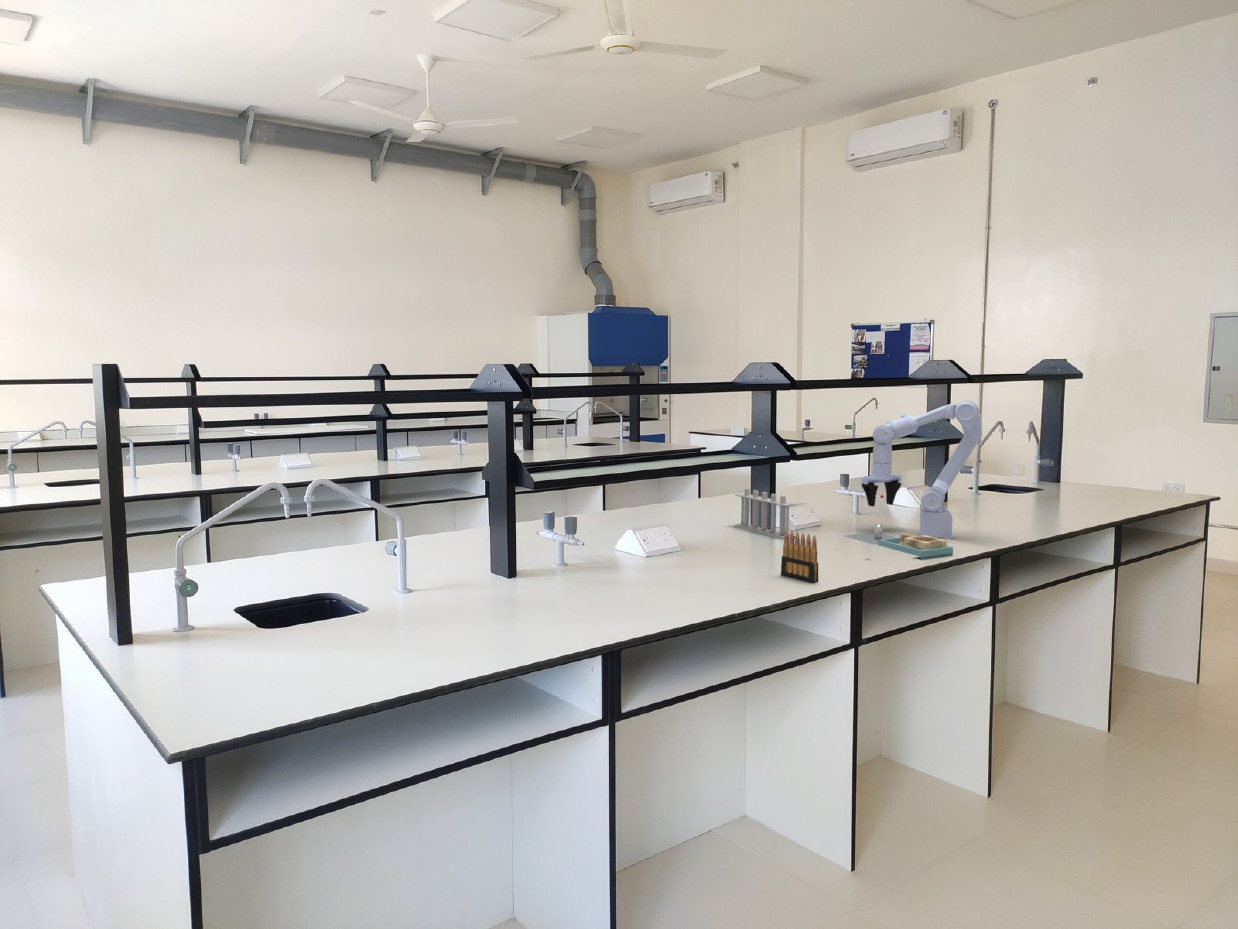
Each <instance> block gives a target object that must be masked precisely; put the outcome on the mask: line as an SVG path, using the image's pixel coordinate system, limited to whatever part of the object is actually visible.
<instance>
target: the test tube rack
mask: <svg viewBox="0 0 1238 929" xmlns="http://www.w3.org/2000/svg"><path fill="white" fill-rule="evenodd" d="M750 492H751V490H750V488H744V493H738V494H737V493H736V494H734V495H735V497H741V498H740V499H741V507H740V508H741V512H740V513H741V514H740V516H741V518H740V519H741V520H740V523H737V524H734V527H735V528H737V527H739V528H738V529H741V530H746V531H749V532H753V533H757V534H760V535H764V536H767V537H768V536H769V537H771V538H772V537H773V538H775V539H779V540H783V541H784V536H785V532H786V530H788V531H789V526H790V525H789V522H790V518H789V517H790V507H793V506H794V507H795V506H796V505H797V504H796V503H792V502H789V501H787V498H786V496H787V495H780V497H779V499H780V500H778V499H777V494H776V493H771V495H770V498H768V492H767V491H763V492H761V496H759V490H757V489H756V490H755V489H753V492H752V494H750ZM751 500H752V524H750V510H751V509H750V507H751V505H750V504H751V502H750V501H751ZM759 502H761V519H760V520H761V523H760V524H761V525H760V526H759ZM768 504H770V524H769V526H770V528H769V529H768V528H767V527H768ZM777 505H778V506H779V531H776V530H777ZM752 525H753V526H752ZM760 527H761V528H760ZM788 534H789V540H790V533H789V532H788ZM795 536H796V535H794V540H795Z"/></svg>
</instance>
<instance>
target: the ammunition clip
mask: <svg viewBox="0 0 1238 929" xmlns="http://www.w3.org/2000/svg"><path fill="white" fill-rule="evenodd" d="M788 533H789V529H788V530H786V529H785V536H784V540H783V544H782V545H783V546H782V555H781V567H780V576H783V577H787V578H791V579H795V580H799V581H802V582H808V583H811V584H816V583H817V584H818V583H819V562H818V545H817V542H818V541H817V536H816V535H815V534H814V535H813V536H812V540H811V535H810V534H809V533H808V534H807V536H806V537H805V533H804V532H802V533H801V535H800V534H799V531H796V533H795V534H794V531H793V530H791V532H790V533H789V534H788ZM789 535H790V539H789ZM794 536H795V539H794Z"/></svg>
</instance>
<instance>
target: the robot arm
mask: <svg viewBox="0 0 1238 929" xmlns="http://www.w3.org/2000/svg"><path fill="white" fill-rule="evenodd" d="M941 419H942V420H943V419H948V420H954V419H956V420H957V421H958V422H959V423H960V425H961V428H962V431H963V434H964V435H963V437H962V439H960V441H959V443H958V445H957V446H956V447H955V449H954V451H953V453H952V454H951V456H950V458H949V459H948V461H947V462H946V464H945V465H944V467H943V469H942V470H941V472H940V473H939V474H938V476H937V478H936V480H935V481H934V482H933V485H931V486H930V487H929V488H926V490H925V491H924V493H923V495H922V496H921V498H920V499H921V500H920V502H921V505H922V506H921V507H920V510H919V511H920V513H919V515H920V516H919V535H918V536H923V535H926V536H930V537H934V538H938V539H941V538H945V539H949V540H951V539H952V540H953V539H954V537H955V536H953V520H954V519H953V515H952V513H951V511H950V510H948V509H947V508H946V507H944V506H943V504H944V501H945V499H946V494H947V492H948V491H949V489H950V488H951V486H952V484H953V482H954V481H955V479H956V477H957V476H958V475H959V473H960V471H961V470H962V468H963V466H964V465H965V464H966V461H968V459H969V457H970V455H972V453H973V451H974V449H975V448H976V446H977V445H978V443H979V441H980V440H981V438H982V436H983V431H982V430H983V428H982V427H983V426H982V415H981V412H980V410H979V408H978V405H977V404H976V403H975V402H974V401H972V400H968V399H967V400H963V401H961V402H959V403H958V402H955V403H949V404H946V405H943V406H940V407H938V408H935V409H933V410H930V411H928V412H925V413H922V414H920V415H917V416H912V415H910V414H908V415H906V414H901V416H900V418H897V419H895V420H891V421H890V420H887V421H886V422H885V424H880V425H878V426H876V427H875V428H874V429H873V432H872V437H873V438H872V439H873V440H874V441H873V448H872V474H871V475H869V476H864V477H863V476H862V477H861V488H862V489H863V491H864V494H865V497H866V500H867V506H869V507H875V505H876V496H877V493H878V492H877V491H878V489H879V485H876V484H881V483H883V484H884V487H885V495H886V496H885V501H886V504H887V505H891V506H893V505H894V502H895V499H896V496H897V493H898V491H899V490H900V488H901V486H902V483H901V482H902V475H900V474H892V466H893V465H892V464H893V463H892V461H893V448H892V447H893V446H892V445H893V444H892V442H893V441H892V440H893V439H895V440H897V439H901V438H903V437H905V436H908V435H911V434H914V433H916V432H917V430H918V428H919V427H920V426H924V425H927V424H929V423H934V422H936V421H939V420H941Z"/></svg>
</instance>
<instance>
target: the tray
mask: <svg viewBox="0 0 1238 929" xmlns="http://www.w3.org/2000/svg"><path fill="white" fill-rule="evenodd" d="M877 546H881V547H884V548H887V549H891V550H895V551H899V552H903V553H907V554H910V555H914V556H915V557H914V559H916V560H919V561H924V560H932V559H939V558H945V557H953V555H954V547H953V546H950V545H947V544H946V547H942V548H934V549H927V550H919V549H915V548H911V547H908V546H904V545H900V536H899V537H896V538H889V539H881V540H878V544H877ZM916 556H917V557H916Z"/></svg>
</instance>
